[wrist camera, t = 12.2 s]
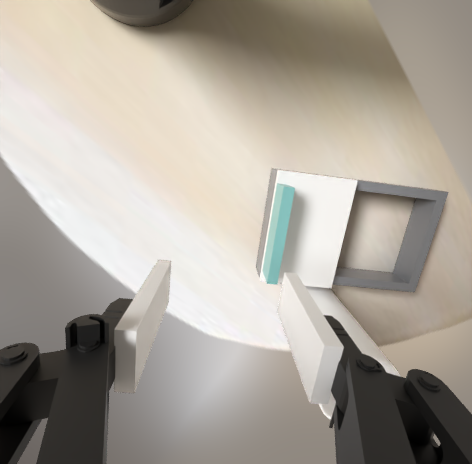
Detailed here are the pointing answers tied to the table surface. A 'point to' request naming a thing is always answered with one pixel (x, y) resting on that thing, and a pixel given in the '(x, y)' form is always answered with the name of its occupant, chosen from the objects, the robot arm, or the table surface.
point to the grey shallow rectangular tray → (412, 246)
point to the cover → (306, 227)
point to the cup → (363, 341)
